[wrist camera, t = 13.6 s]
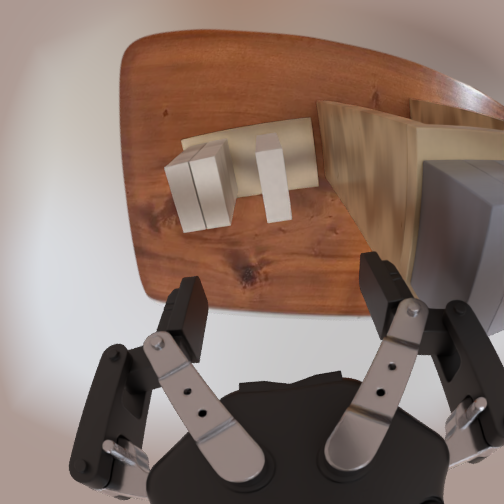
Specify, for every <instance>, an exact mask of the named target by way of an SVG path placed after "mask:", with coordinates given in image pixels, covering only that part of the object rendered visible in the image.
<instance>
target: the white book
mask: <svg viewBox="0 0 504 504" xmlns="http://www.w3.org/2000/svg"><path fill="white" fill-rule="evenodd" d="M255 155H256V161H257V166H258V172H259V177H260V183H261V189H262V194H263V200H264V206H265V211H266V217H267V222H268V223H271V222H278V221H285V220H292V213H291V206H290V198H289V191H288V183H287V176H286V170H285V163H284V156H283V150H282V147H281V144H280V141H279V139H278V136H277V133H269V134H263V135H257V137H256V148H255Z"/></svg>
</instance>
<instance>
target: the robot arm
mask: <svg viewBox="0 0 504 504" xmlns="http://www.w3.org/2000/svg"><path fill="white" fill-rule="evenodd" d="M359 285H360V290H361V292H362V295H363V297H364V299H365V302H366V304H367V307H368V309H369V312H370V314H371V317H372V319H373V322H374V324H375V327H376V329H377V332H378V334H379V337H380V339H381V340H383V341H382V343H381V345H380V347H379V349H378V351H377V354H376V356H375V358H374V360H373V362H372V364H371V366H370V368H369V370H368V372H367V374H366V376H365V378H364V380H363V382H361V381H359V380H356V379H352V378H343V377H342V374H341V371H335V372H329V373H324V374H318V375H314V376H311V377H308V378H306V379H303V380H300V381H297V382H295V383H292V384H286V383H276V382H268V381H259V382H246V383H239V390H237V391H234V392H232V393H230V394H228V395H226V396H224V397H223V398H221V399H220V400H219V399H218V398H217V397H216V395H215V394H214V393H213V391H212V390H211V389H210V388H209V386H208V385H207V384H206V382H205V381H204V380H203V378H202V377H201V376H200V374H199V373H198V372H197V370H196V369H195V368H194V366H193V365H192V363H199V362H200V356H201V350H202V344H203V338H204V332H205V327H206V321H207V315H208V301H207V298H206V295H205V292H204V289H203V287H202V284H201V281H200V278H199V277H198V276H194V277H186V278H183V279H182V281H181V284H180V287H179V288H178V289H174V290H173V291H172V292H171V294H170V295H169V296H168V299H167V302H166V305H165V307H164V311H163V313H162V316H161V319H160V322H159V325H158V328H157V331H156V332H155V333H153V334H151V335H150V336H148V337H147V338H146V340H145V342H144V344H143V346H141V347H137V348H134V349H131V350H127V348H126V347H125V346H124V345H122V344H115V345H112V346H110V347H108V348H107V349H106V350H105V351H104V353H103V354H102V357H101V359H100V362H99V365H98V368H97V370H96V373H95V376H94V379H93V382H92V385H91V388H90V391H89V394H88V397H87V400H86V403H85V407H84V410H83V414H82V417H81V420H80V423H79V427H78V431H77V434H76V438H75V442H74V446H73V450H72V454H71V458H70V462H69V471H70V474H71V476H72V477H73V479H74V480H76V481H78V482H80V483H82V484H84V485H86V486H88V487H89V488H91V489H93V490H95V491H98V492H100V493H102V494H105V495H107V496H112V497H115V498H118V499H120V500H128V499H130V498H136V499H141V500H147V501H150V503H151V504H444V501H443V491H444V484H445V479H446V475H447V471H448V470H450V469H452V468H455V467H457V466H459V465H462V464H464V463H466V462H469V463H472V464H474V463H478V462H480V461H482V460H483V459H485V458H486V457H488V456H489V455H491V454H492V453H494V452H495V451H496V450H497V449H499V448H501V447H502V446H503V445H504V367H503V365H502V363H501V361H500V359H499V357H498V355H497V353H496V351H495V349H494V347H493V345H492V343H491V341H490V339H489V337H488V336H487V334H486V332H485V330H484V328H483V327H482V325H481V323H480V321H479V320H478V318H477V316H476V315H475V313H474V311H473V310H472V308H471V307H470V305H469V304H467V303H466V302H464V301H461V300H452V301H450V302H448V303H447V305H446V307H445V309H433V308H428V306H427V305H426V303H424V302H423V301H422V300H420V299H417V298H414V296H413V294H412V293H411V291H410V289H409V288H408V286H407V284H406V283H405V281H404V279H402V276H401V275H400V273H399V271H398V270H397V268H396V267H395V265H394V264H392V263H391V262H390V261H388V260H381V258H380V257H379V255H378V253H377V252H376V251H373V252H367V253H361V255H360V270H359ZM417 355H431V357H432V359H433V362H434V364H435V367H436V370H437V372H438V375H439V378H440V381H441V383H442V386H443V389H444V392H445V395H446V398H447V401H448V404H449V407H450V411H451V415H450V416H449V417H448V419H447V421H446V437H445V440H444V439H443V438H442V437H441V436H440V435H439V434H438V433H436V432H435V431H433V430H432V429H431V428H429V427H428V426H426V425H425V424H423V423H422V422H420V421H419V420H417V419H416V418H414V417H413V416H412V415H410V414H409V413H407V412H406V411H404V410H403V409H401V408H400V407H398V405H399V402H400V400H401V397H402V395H403V393H404V390H405V387H406V385H407V382H408V380H409V377H410V374H411V371H412V369H413V366H414V363H415V360H416V357H417ZM160 387H162V388H163V390H164V392H165V394H166V395H167V397H168V398H169V400H170V402H171V404H172V405H173V407H174V409H175V410H176V412H177V414H178V415H179V417H180V419H181V420H182V422H183V423H184V425H185V426H186V428H187V429H188V432H187V434H185V435H184V437H182V439H181V440H180V441H179V442H178V443H177V444H175V445H174V447H172V448H171V449H170V450H169V451H168V452H167V453H166V454H165V455H164V456H163V457H162V458H161V459H160V460H159V461H158V462H157V463H156V464H155V465H154V466H153V467H152V469H151V470H150V469H149V461H148V457H147V455H146V453H145V452H144V451H143V450H142V444H143V438H144V431H145V426H146V419H147V414H148V409H149V404H150V399H151V394H152V390H153V389H156V388H160Z"/></svg>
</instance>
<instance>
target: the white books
mask: <svg viewBox="0 0 504 504" xmlns="http://www.w3.org/2000/svg"><path fill="white" fill-rule="evenodd" d="M269 133H277V136H278V139H279V141H280V144H281V147H282V150H283V156H284V163H285V170H286V176H287V183H288V190H293V189H301V188H308V187H316V186H319V182H318V173H317V163H316V154H315V146H314V138H313V130H312V123H311V118H310V117H307V118H298V119H290V120H282V121H275V122H268V123H261V124H255V125H249V126H243V127H238V128H232V129H227V130H222V131H217V132H213V133H208V134H203V135H199V136H195V137H190V138H186V139H182V140H181V142H182V146H183V150H184V151H183V152H182V153H180V154H179V155H178V156H177V157H176V158H175V159H174V160H172V161H171V162H170V163H169V164H168V165H167V166H166V167H164V169H165V172H166V176H167V179H168V183H169V186H170V190H171V193H172V196H173V200H174V203H175V206H176V209H177V213H178V216H179V219H180V222H181V225H182V229H183V232H184V233H186V232H192V231H198V230H204V229H206V228H207V229H211V228H217V227H223V226H230V225H231V222H232V217H233V212H234V207H235V202H236V198H240V197H246V196H252V195H258V194H262V189H261V183H260V177H259V172H258V166H257V161H256V155H255V148H256V137H257V135H263V134H269Z"/></svg>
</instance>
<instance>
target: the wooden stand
mask: <svg viewBox="0 0 504 504" xmlns="http://www.w3.org/2000/svg"><path fill="white" fill-rule="evenodd" d="M409 103H410V117H411V119H408V118H404V117H401V116H397V115H393V114H389V113H386V112H381V111H377V110H373V109H369V108H364V107H360V106H355V105H350V104H345V103H339V102H333V101H328V100H320V101H316V104H317V111H318V118H319V126H320V134H321V142H322V151H323V160H324V170H325V177H326V179H327V180H328V182H329V183H330V185H331V186H332V188H333V189H334V191H335V192H336V193H337V195H338V197H339V198H340V200H341V201H342V203H343V204H344V206H345V207H346V209H347V210H348V212H349V213H350V215H351V217H352V218H353V220H354V221H355V223H356V225H357V226H358V228H359V229H360V231H361V233H362V234H363V236H364V238H365V239H366V241H367V243H368V244H369V246H370V248H371V250H372V251H376V252H377V253H378V255H379V257H380V258H381V260H388V261H390V262H391V263H392V264H394V265H395V267H396V268H397V270H398V271H399V273H400V275H401V276H402V279H404V281H405V283H406V284H407V286H408V288H409V289H410V291H411V293H412V294H413V296H414V298H417V299H420V300H422V301H423V302H424V303H426V305H427V306H428V308H433V309H445V307H446V305H447V303H448V302H450V301H452V300H461V301H464V302H466V303H467V304H469V305H470V307H471V308H472V310H473V311H474V313H475V315H476V316H477V318H478V320H479V321H480V323H481V325H482V327H483V328H484V330H485V332H486V334H487V336H490V335H493V334H495V333H498V332H500V331H502V330H504V120H503V119H500V118H497V117H493V116H490V115H487V114H483V113H480V112H476V111H472V110H468V109H464V108H460V107H456V106H451V105H446V104H441V103H436V102H431V101H425V100H419V99H409Z"/></svg>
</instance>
